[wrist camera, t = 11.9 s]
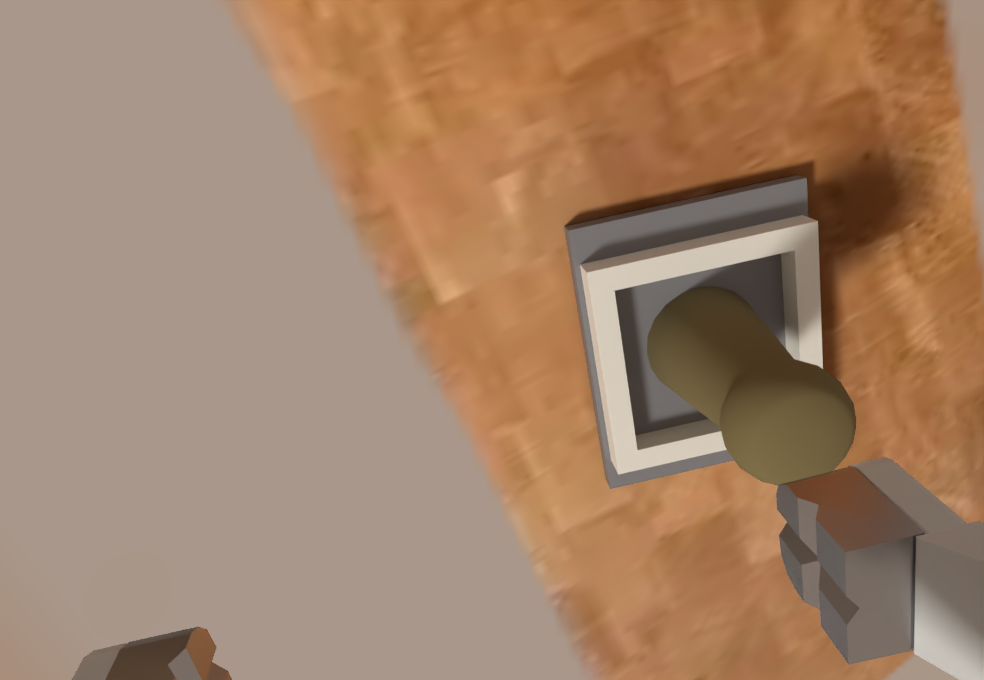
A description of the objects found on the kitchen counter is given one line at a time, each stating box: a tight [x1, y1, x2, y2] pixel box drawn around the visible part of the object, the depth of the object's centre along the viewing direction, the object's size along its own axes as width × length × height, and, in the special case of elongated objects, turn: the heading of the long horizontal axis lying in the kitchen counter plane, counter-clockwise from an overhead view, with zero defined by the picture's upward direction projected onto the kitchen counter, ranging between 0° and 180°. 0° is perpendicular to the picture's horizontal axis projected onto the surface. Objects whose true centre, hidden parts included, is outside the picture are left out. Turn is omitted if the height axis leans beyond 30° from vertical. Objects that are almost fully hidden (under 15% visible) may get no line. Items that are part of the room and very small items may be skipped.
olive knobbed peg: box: [647, 287, 856, 485], centre depth 33 cm, size 6×6×11 cm
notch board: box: [564, 175, 823, 489], centre depth 38 cm, size 15×12×2 cm
